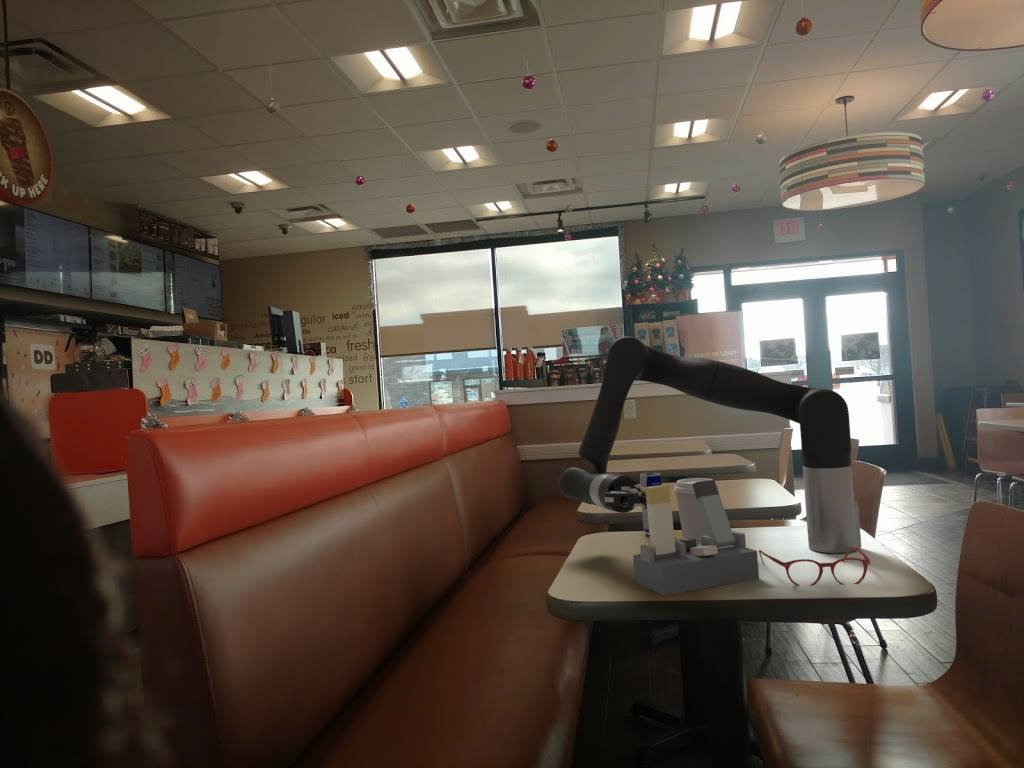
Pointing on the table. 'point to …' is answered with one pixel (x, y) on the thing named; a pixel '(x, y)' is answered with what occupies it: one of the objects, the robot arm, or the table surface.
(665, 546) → the white and yellow lever
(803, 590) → the table surface
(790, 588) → the table surface
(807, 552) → the table surface
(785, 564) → the red eyeglasses
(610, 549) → the table surface
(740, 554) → the console
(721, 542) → the teal lever
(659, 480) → the beverage can
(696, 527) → the coffee cup
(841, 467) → the robot arm
